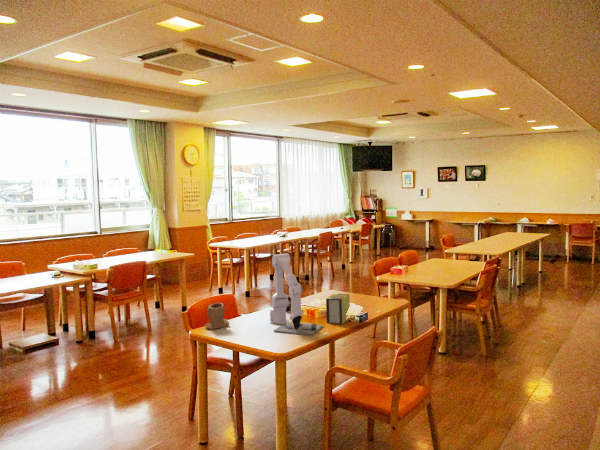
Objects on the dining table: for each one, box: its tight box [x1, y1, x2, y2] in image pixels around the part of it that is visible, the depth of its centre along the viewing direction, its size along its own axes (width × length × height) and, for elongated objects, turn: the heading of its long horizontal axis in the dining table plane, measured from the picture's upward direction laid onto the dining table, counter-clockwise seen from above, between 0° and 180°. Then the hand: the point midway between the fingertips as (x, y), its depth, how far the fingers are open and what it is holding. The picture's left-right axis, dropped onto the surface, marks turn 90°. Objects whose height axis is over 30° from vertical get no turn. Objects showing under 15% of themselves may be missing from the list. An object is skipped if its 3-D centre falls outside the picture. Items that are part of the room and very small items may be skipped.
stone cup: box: [204, 302, 230, 330], centre depth 307 cm, size 15×12×15 cm
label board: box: [273, 323, 324, 337], centre depth 297 cm, size 24×18×1 cm
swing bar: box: [286, 321, 317, 330], centre depth 295 cm, size 18×3×3 cm, turn 67°
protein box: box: [325, 292, 351, 325], centre depth 314 cm, size 10×15×16 cm
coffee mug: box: [286, 294, 291, 312], centre depth 344 cm, size 12×9×10 cm
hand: (296, 328), depth 292 cm, fingers closed
